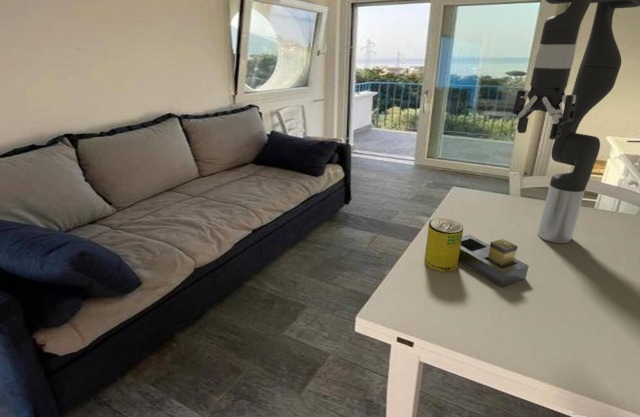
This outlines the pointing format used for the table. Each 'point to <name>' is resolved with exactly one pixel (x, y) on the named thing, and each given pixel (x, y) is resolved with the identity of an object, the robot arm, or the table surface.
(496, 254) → the tan banded block
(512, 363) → the table surface
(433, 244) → the beverage can
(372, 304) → the table surface
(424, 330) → the table surface
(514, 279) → the cinder block
